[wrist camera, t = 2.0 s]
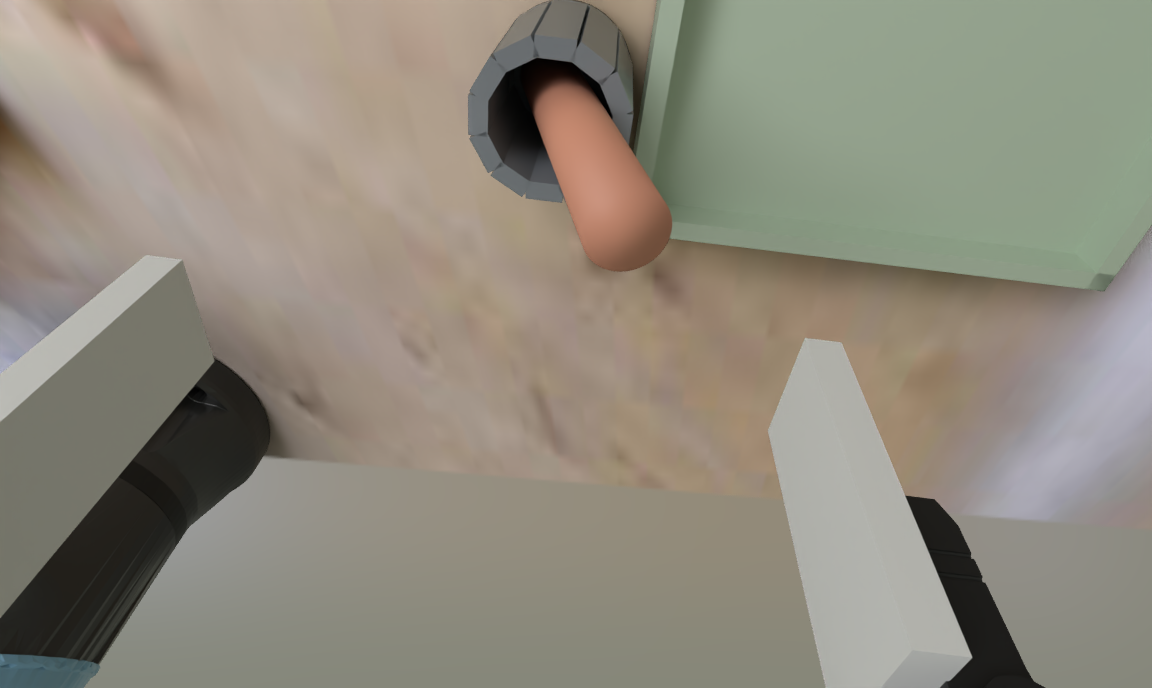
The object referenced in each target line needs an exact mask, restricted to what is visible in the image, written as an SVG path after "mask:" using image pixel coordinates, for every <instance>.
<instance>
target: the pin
mask: <svg viewBox="0 0 1152 688" xmlns="http://www.w3.org/2000/svg"><path fill="white" fill-rule="evenodd" d="M520 77H521V83H522V87H523V89H524V92H525V95H526V97H527V100H528V103H529V105H530V108H531V111H532V113H533V116H534V118H535V121H536V124H537V126H538V129H539V132H540V134H541V137H542V140H543V142H544V145H545V148H546V150H547V153H548V155H549V158H550V161H551V163H552V166H553V169H554V171H555V174H556V177H557V179H558V182H559V185H560V187H561V190H562V192H563V195H564V198H565V200H566V203H567V206H568V208H569V211H570V214H571V216H572V219H573V222H574V224H575V227H576V230H577V232H578V235H579V237H580V240H581V243H582V245H583V248H584V250H585V252H586V254H587V256H588V257H589V258H590V259H591V261H593V262H594V263H595V264H596V265H598V266H600V267H602V268H604V269H607V270H611V271H620V272H621V271H630V270H634V269H637V268H640V267H642V266H644V265H646V264H648V263H649V262H651V261H652V260H654V259H655V258H656V257H657V256H658V255H659V254H660V253H661V252H662V250H663V249H664V248H665V246H666V244H667V243H668V240H669V238H670V235H671V231H672V216H671V213H670V210H669V208H668V206H667V204H666V203H665V201H664V200H663V198H662V196H661V195H660V193H659V192H658V190H657V189H656V187H655V186H654V184H653V182H652V181H651V179H650V178H649V176H648V175H647V173H646V172H645V170H644V169H643V167H642V165H641V164H640V162H639V161H638V159H637V158H636V156H635V155H634V153H633V151H632V150H631V148H630V147H629V145H628V144H627V142H626V141H625V139H624V138H623V136H622V134H621V133H620V131H619V130H618V128H617V127H616V125H615V124H614V122H613V120H612V119H611V117H610V116H609V114H608V113H607V111H606V110H605V108H604V107H603V105H602V103H601V102H600V100H599V99H598V97H597V96H596V94H595V93H594V91H593V89H592V88H591V86H590V85H589V83H588V82H587V80H586V79H585V77H584V76H583V74H582V72H581V71H580V69H579V68H578V67H577V66H576V65H575V64H574V63H572V62H568V61H560V60H552V59H543V58H535V59H533V60H531V61H529V62H527V63H525V64H522V68H521V74H520Z"/></svg>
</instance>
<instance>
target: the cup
mask: <svg viewBox="0 0 1152 688" xmlns="http://www.w3.org/2000/svg"><path fill="white" fill-rule="evenodd" d="M535 58H543V59H552V60H560V61H568V62H572V63H574V64H575V65H576V66H577V67H578V68H579V69H580V71H581V72H582V74H583V76H584V77H585V79H586V80H587V82H588V83H589V85H590V86H591V88H592V89H593V91H594V93H595V94H596V96H597V97H598V99H599V100H600V102H601V103H602V105H603V107H604V108H605V110H606V111H607V113H608V114H609V116H610V117H611V119H612V120H613V122H614V124H615V125H616V127H617V128H618V130H619V131H620V133H621V134H622V136H623V138H624V139H625V141H626V142H627V144H628V145H629V140H630V134H631V127H632V121H633V67H632V61H631V58H630V55H629V51H628V48H627V44H626V42H625V40H624V38H623V35H622V34H621V31H619V29H618V27H617V26H616V25H615V24H614V22H613V21H612V20H611V19H610V18H609V17H608V16H607V15H606V14H604V13H603V12H602V11H600V10H599V9H597V8H595V7H594V6H592V5H590V4H587V3H584V2H582V1H577V0H551V1H550V0H549V1H547V2H543V3H541V4H539V5H536V6H535V7H533V8H531V9H529V10H528V11H527V12H525V13H523V14H521V15H520V16H519V17H518V18H517V19H516V20H515V22H514V23H513V24H512V26H511V27H510V29H509V30H508V32H507V33H506V34H505V36H504V37H503V39H502V40H501V41H500V43H499V44H498V46H497V47H496V49H495V50H494V51H493V53H492V54H491V56H490V57H489V59H488V61H487V62H486V64H485V66H484V67H483V69H482V71H481V72H480V74H479V76H478V77H477V79H476V81H475V82H474V84H473V86H472V87H471V89H470V93H469V95H468V135H471V137H470V138H469V139H470V141H471V142H472V144H473V146H474V148H475V150H476V152H477V153H478V155H479V157H480V159H481V161H482V163H483V164H484V166H485V168H486V170H487V172H488V173H489V172H491V171H493V172H492V174H491V176H492V177H493V178H495V179H496V180H498V181H499V182H501V183H502V184H504V185H505V186H507V187H508V188H510V189H511V190H513V191H514V192H515V193H517V194H518V195H520V196H521V197H522V196H523V195H524V194H525V192H526V198H527V199H535V200H544V201H552V202H560V203H562V200H563V198H564V195H563V192H562V190H561V187H560V185H559V182H558V179H557V177H556V174H555V171H554V169H553V166H552V163H551V161H550V158H549V155H548V153H547V150H546V148H545V145H544V142H543V140H542V137H541V134H540V132H539V129H538V126H537V124H536V121H535V118H534V116H533V113H532V111H531V108H530V105H529V103H528V100H527V97H526V95H525V92H524V89H523V87H522V83H521V77H520V74H521V68H522V64H525V63H527V62H529V61H531V60H533V59H535ZM564 200H565V198H564ZM565 202H566V200H565Z"/></svg>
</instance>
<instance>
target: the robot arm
mask: <svg viewBox="0 0 1152 688" xmlns="http://www.w3.org/2000/svg"><path fill="white" fill-rule="evenodd" d="M768 433H769V437H770V442H771V446H772V451H773V455H774V460H775V464H776V469H777V473H778V477H779V482H780V486H781V491H782V495H783V500H784V504H785V509H786V513H787V517H788V522H789V526H790V531H791V535H792V540H793V544H794V548H795V553H796V557H797V562H798V566H799V571H800V575H801V579H802V584H803V589H804V593H805V597H806V602H807V606H808V611H809V615H810V620H811V624H812V629H813V633H814V637H815V642H816V646H817V651H818V655H819V660H820V663H821V669H822V673H823V677H824V682H825V686H826V688H1045V687H1043V686H1041V685H1039V684H1037V683H1036V682H1034V681H1033V679H1032V678H1031V676H1030V674H1029V672H1028V671H1027V669H1026V667H1025V665H1024V663H1023V661H1022V659H1021V657H1020V654H1019V652H1018V650H1017V648H1016V646H1015V644H1014V642H1013V640H1012V638H1011V636H1010V633H1009V631H1008V629H1007V627H1006V625H1005V623H1004V621H1003V619H1002V617H1001V615H1000V613H999V610H998V608H997V606H996V604H995V602H994V600H993V598H992V596H991V594H990V591H989V589H988V587H987V585H986V584H985V583H983V582H982V575H981V573H980V570H979V568H978V566H977V564H976V562H975V560H974V559H971V552H970V549H969V548H968V545H967V543H966V542H965V539H964V537H963V535H962V533H961V531H960V528H959V526H958V525H957V524H956V523H955V522H954V520H953V519H952V518H951V517H950V516H949V515H948V514H947V513H946V511H945V510H944V509H943V508H942V507H941V506H940V505H939V504H938V503H937V501H936V500H935V499H927V498H920V497H912V496H905V494H904V492H903V489H902V487H901V485H900V482H899V480H898V477H897V475H896V473H895V470H894V468H893V465H892V463H891V461H890V458H889V456H888V453H887V451H886V449H885V446H884V444H883V441H882V439H881V437H880V434H879V432H878V429H877V427H876V425H875V422H874V420H873V417H872V415H871V413H870V410H869V408H868V405H867V403H866V400H865V398H864V396H863V393H862V391H861V388H860V386H859V384H858V381H857V379H856V376H855V374H854V372H853V369H852V367H851V364H850V362H849V360H848V357H847V355H846V352H845V350H844V348H843V345H842V343H841V342H833V341H825V340H817V339H809V338H805V339H804V342H803V344H802V347H801V349H800V352H799V354H798V357H797V359H796V362H795V364H794V367H793V369H792V372H791V374H790V377H789V379H788V382H787V384H786V387H785V389H784V392H783V394H782V397H781V399H780V402H779V404H778V407H777V409H776V412H775V414H774V417H773V419H772V422H771V424H770V427H769V430H768ZM269 439H270V430H269V424H268V420H267V417H266V415H265V412H264V410H263V408H262V406H261V404H260V403H259V401H258V400H257V398H256V397H255V395H254V394H253V393H252V392H251V390H250V389H249V388H248V387H247V386H246V385H245V384H244V382H242V381H241V380H240V379H239V378H238V377H237V376H236V375H235V374H234V373H233V372H231V371H230V370H229V369H228V368H226V367H225V366H224V365H222V364H221V363H220V362H218V361H217V360H215V359H214V358H213V355H212V352H211V349H210V345H209V342H208V339H207V336H206V333H205V330H204V327H203V323H202V320H201V317H200V314H199V311H198V308H197V305H196V301H195V298H194V295H193V292H192V289H191V286H190V283H189V279H188V276H187V273H186V270H185V267H184V264H183V261H182V260H180V259H172V258H165V257H157V256H149V255H145V256H144V257H143V258H142V259H141V260H139V261H138V262H137V263H136V264H134V265H133V266H132V267H131V268H130V269H128V270H127V271H126V272H125V273H123V274H122V275H121V276H120V277H119V278H117V279H116V280H115V281H114V282H112V283H111V284H110V285H109V286H108V287H106V288H105V289H104V290H103V291H101V292H100V293H99V294H98V295H96V296H95V297H94V298H93V299H92V300H90V301H89V302H88V303H87V304H85V305H84V306H83V307H82V308H81V309H79V310H78V311H77V312H76V313H74V314H73V315H72V316H71V317H70V318H68V319H67V320H66V321H65V322H63V323H62V324H61V325H60V326H58V327H57V328H56V329H55V330H54V331H52V332H51V333H50V334H49V335H47V336H46V337H45V338H44V339H43V340H41V341H40V342H39V343H38V344H36V345H35V346H34V347H33V348H32V349H30V350H29V351H28V352H27V353H25V354H24V355H23V356H22V357H21V358H19V359H18V360H17V361H16V362H14V363H13V364H12V365H11V366H9V367H8V368H7V369H6V370H5V371H3V372H2V373H1V374H0V688H84V686H85V685H86V684H87V682H88V681H89V680H90V678H92V677H93V676H95V675H96V673H97V672H98V671H99V669H100V666H99V664H100V663H101V661H102V660H103V658H104V656H105V655H106V653H107V652H108V650H109V648H110V647H111V646H112V644H113V642H114V641H115V639H116V638H117V636H118V635H119V633H120V632H121V630H122V629H123V627H124V625H125V624H126V622H127V621H128V619H129V618H130V616H131V615H132V613H133V612H134V610H135V608H136V607H137V606H138V604H139V602H140V601H141V599H142V598H143V596H144V595H145V593H146V592H147V590H148V589H149V587H150V585H151V584H152V582H153V581H154V579H155V578H156V576H157V575H158V573H159V572H160V570H161V568H162V567H163V565H164V564H165V562H166V561H167V559H168V558H169V556H170V555H171V553H172V552H173V550H174V549H175V547H176V545H177V544H178V543H179V541H180V539H181V538H182V536H183V535H184V533H185V532H186V530H187V529H188V528H189V527H190V526H191V525H192V524H193V523H194V522H195V521H197V520H198V519H199V518H200V517H201V516H203V515H204V514H205V513H206V512H207V511H209V510H210V509H211V508H212V507H213V506H215V505H216V504H217V503H218V502H219V501H221V500H222V499H223V498H224V497H225V496H226V495H227V494H228V493H230V492H231V491H232V490H234V489H236V488H237V487H239V486H240V485H241V484H243V483H244V482H245V481H246V480H247V479H248V478H249V477H250V476H251V474H252V473H253V472H254V470H255V469H256V467H257V465H258V464H259V462H260V460H261V459H262V457H263V456H264V454H265V452H266V450H267V448H268V444H269Z"/></svg>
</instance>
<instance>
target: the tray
mask: <svg viewBox="0 0 1152 688" xmlns="http://www.w3.org/2000/svg"><path fill="white" fill-rule="evenodd" d="M633 153H634V155H635V156H636V158H637V159H638V161H639V162H640V164H641V165H642V167H643V169H644V170H645V172H646V173H647V175H648V176H649V178H650V179H651V181H652V182H653V184H654V186H655V187H656V189H657V190H658V192H659V193H660V195H661V196H662V198H663V200H664V201H665V203H666V204H667V206H668V208H669V210H670V213H671V216H672V231H671V235H670V238H669V239H678V240H686V241H694V242H702V243H711V244H719V245H727V246H735V247H743V248H752V249H760V250H768V251H776V252H785V253H793V254H801V255H809V256H818V257H826V258H834V259H842V260H851V261H859V262H867V263H875V264H884V265H892V266H900V267H908V268H917V269H925V270H933V271H941V272H950V273H958V274H966V275H974V276H982V277H991V278H999V279H1007V280H1015V281H1024V282H1032V283H1040V284H1048V285H1057V286H1065V287H1073V288H1081V289H1090V290H1098V291H1105V290H1106V288H1107V287H1108V285H1109V284H1110V283H1111V281H1112V280H1113V278H1114V277H1115V276H1116V274H1117V273H1118V271H1119V270H1120V269H1121V267H1122V266H1123V264H1124V263H1125V262H1126V260H1127V259H1128V257H1129V256H1130V255H1131V253H1132V252H1133V250H1134V249H1135V248H1136V246H1137V245H1138V243H1139V242H1140V241H1141V239H1142V238H1143V236H1144V235H1145V234H1146V232H1147V231H1148V229H1149V228H1150V227H1151V225H1152V0H657V3H656V10H655V16H654V23H653V29H652V35H651V42H650V48H649V54H648V61H647V67H646V73H645V80H644V86H643V92H642V99H641V105H640V112H639V118H638V124H637V131H636V137H635V143H634V150H633Z"/></svg>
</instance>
